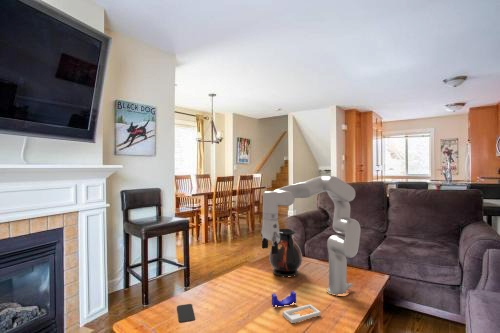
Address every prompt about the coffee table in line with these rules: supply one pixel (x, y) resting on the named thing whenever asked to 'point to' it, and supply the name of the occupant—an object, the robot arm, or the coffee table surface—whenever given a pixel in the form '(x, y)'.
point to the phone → (185, 313)
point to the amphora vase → (286, 255)
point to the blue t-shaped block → (284, 300)
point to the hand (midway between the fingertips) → (269, 250)
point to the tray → (296, 317)
